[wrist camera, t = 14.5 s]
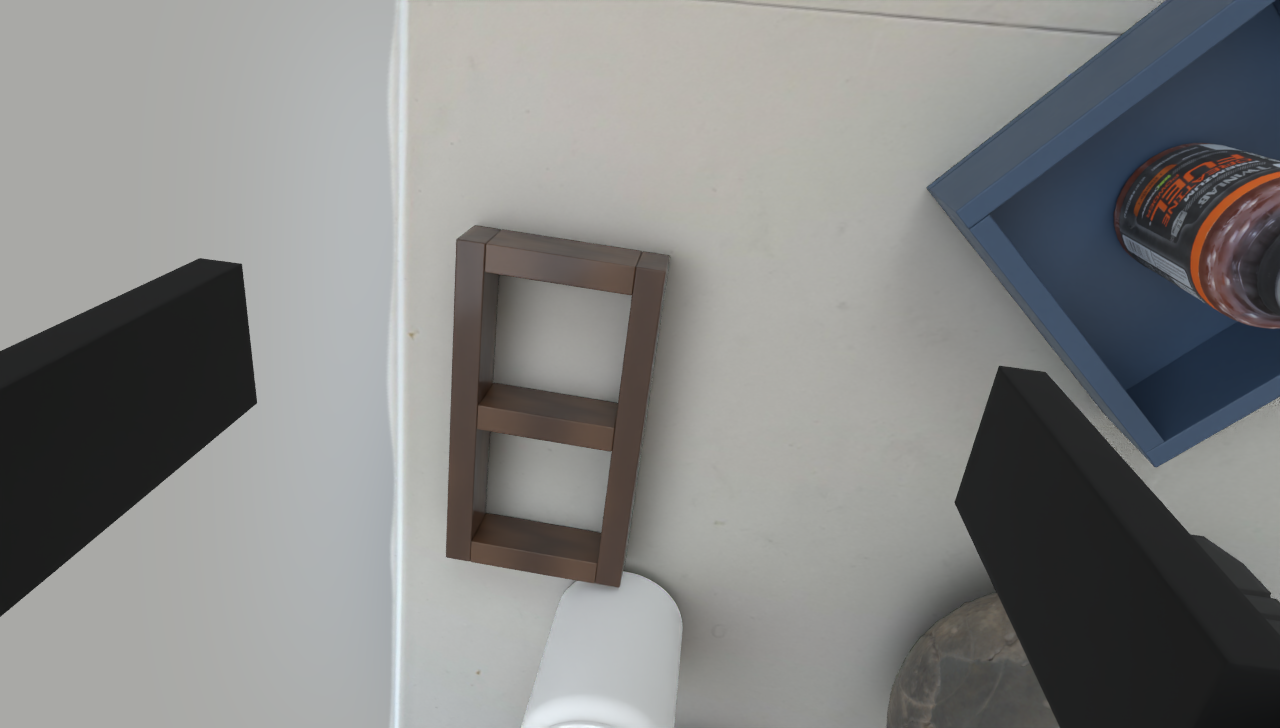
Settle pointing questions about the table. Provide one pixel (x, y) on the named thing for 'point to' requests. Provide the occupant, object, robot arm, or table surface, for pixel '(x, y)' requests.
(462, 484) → the rack
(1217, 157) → the supplement bottle
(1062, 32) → the table surface
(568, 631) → the beverage can
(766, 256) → the table surface
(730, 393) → the table surface
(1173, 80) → the blue square tray
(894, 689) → the bowl
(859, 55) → the table surface
